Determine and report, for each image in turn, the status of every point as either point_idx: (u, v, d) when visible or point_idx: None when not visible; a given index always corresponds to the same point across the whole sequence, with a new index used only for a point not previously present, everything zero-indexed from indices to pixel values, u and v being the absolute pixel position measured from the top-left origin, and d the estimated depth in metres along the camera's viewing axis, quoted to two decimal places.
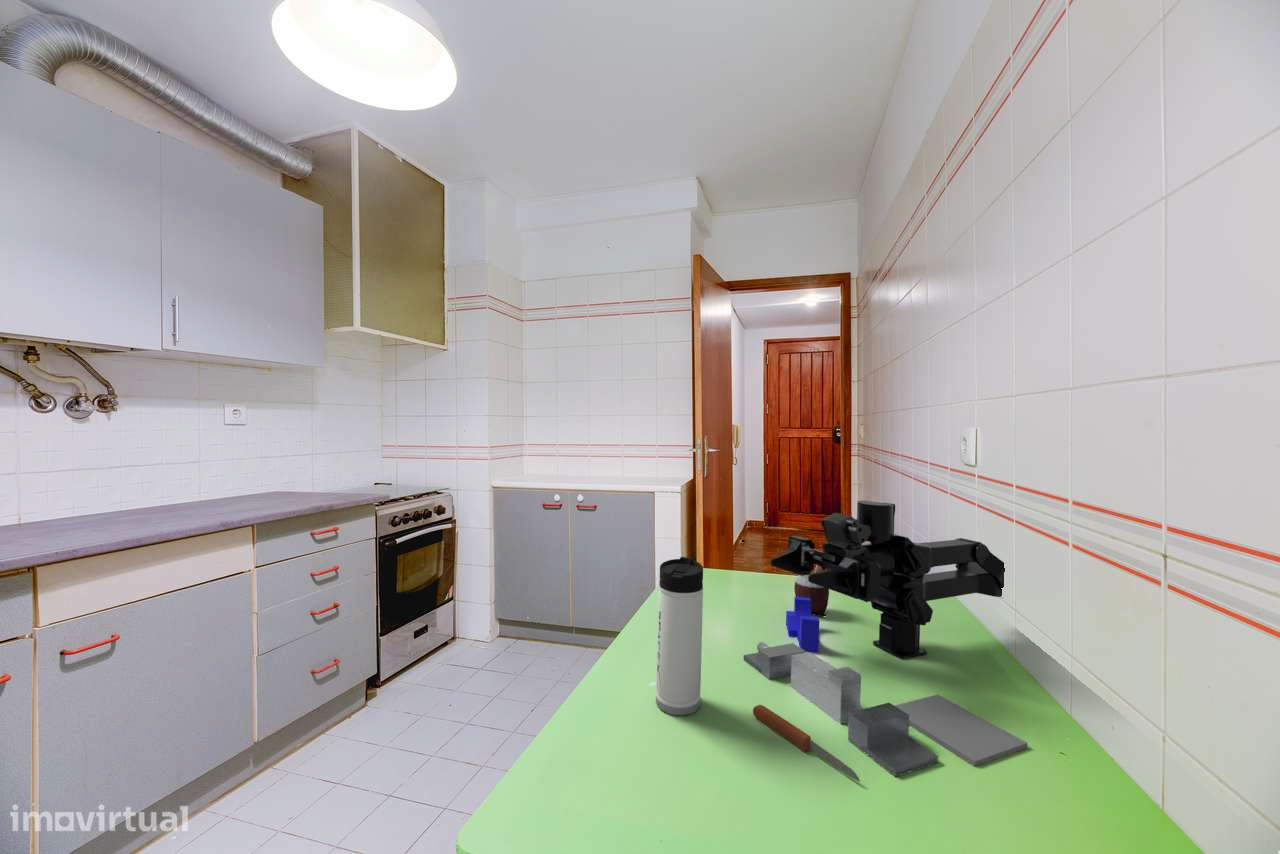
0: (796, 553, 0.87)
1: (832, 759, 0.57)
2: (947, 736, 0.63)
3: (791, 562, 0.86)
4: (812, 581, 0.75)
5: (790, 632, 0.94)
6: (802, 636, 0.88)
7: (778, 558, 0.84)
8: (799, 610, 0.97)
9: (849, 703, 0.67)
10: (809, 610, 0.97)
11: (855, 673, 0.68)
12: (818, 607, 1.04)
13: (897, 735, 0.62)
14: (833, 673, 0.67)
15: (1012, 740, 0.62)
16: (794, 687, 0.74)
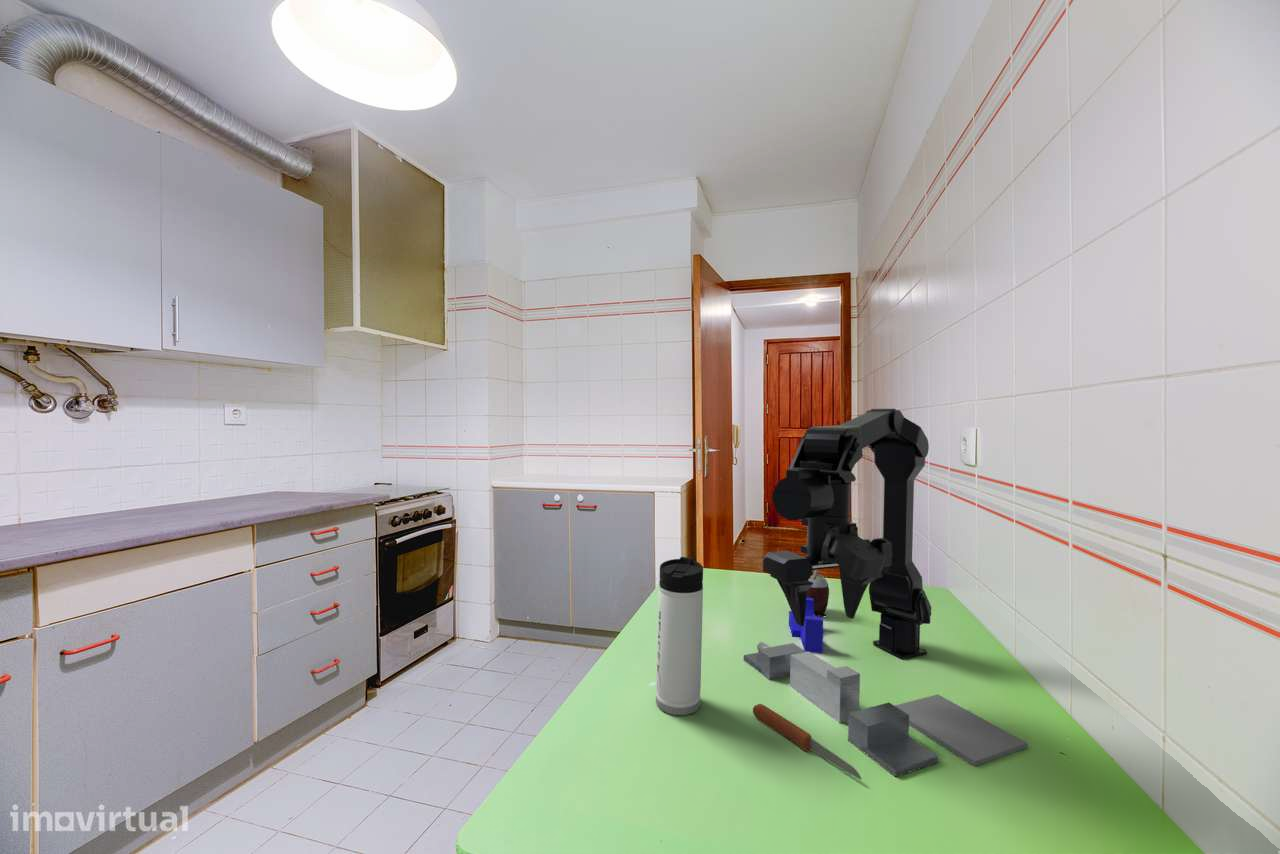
0: None
1: (833, 757, 0.57)
2: (947, 736, 0.63)
3: None
4: None
5: (793, 632, 0.94)
6: (806, 636, 0.88)
7: (804, 617, 0.69)
8: None
9: (848, 702, 0.67)
10: (812, 610, 0.97)
11: (854, 672, 0.68)
12: (818, 607, 1.04)
13: (897, 735, 0.62)
14: (832, 673, 0.68)
15: (1012, 740, 0.62)
16: (793, 686, 0.75)
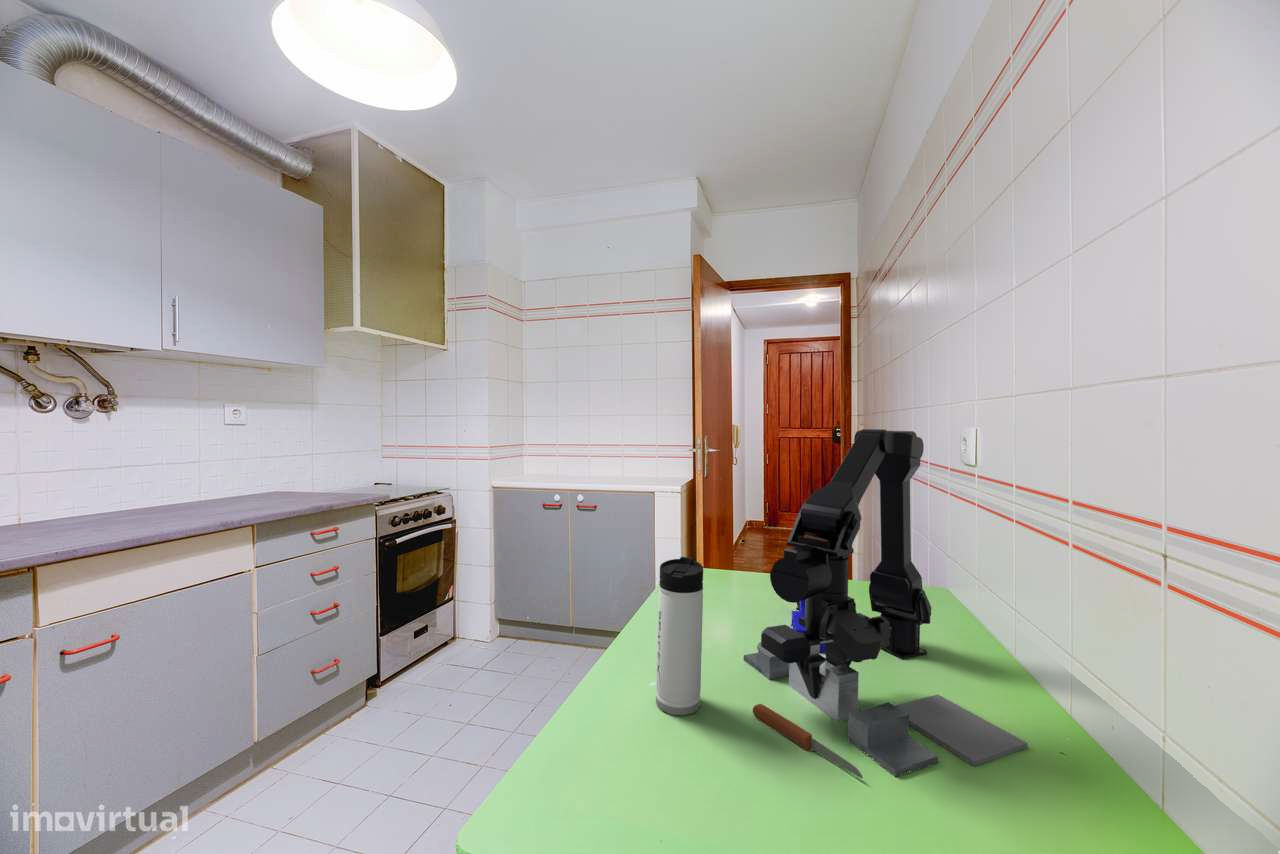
0: None
1: (834, 757, 0.58)
2: (947, 736, 0.63)
3: None
4: None
5: None
6: None
7: (817, 690, 0.70)
8: None
9: (846, 700, 0.67)
10: None
11: (852, 670, 0.68)
12: None
13: (897, 735, 0.62)
14: (831, 671, 0.68)
15: (1012, 740, 0.62)
16: (792, 685, 0.75)
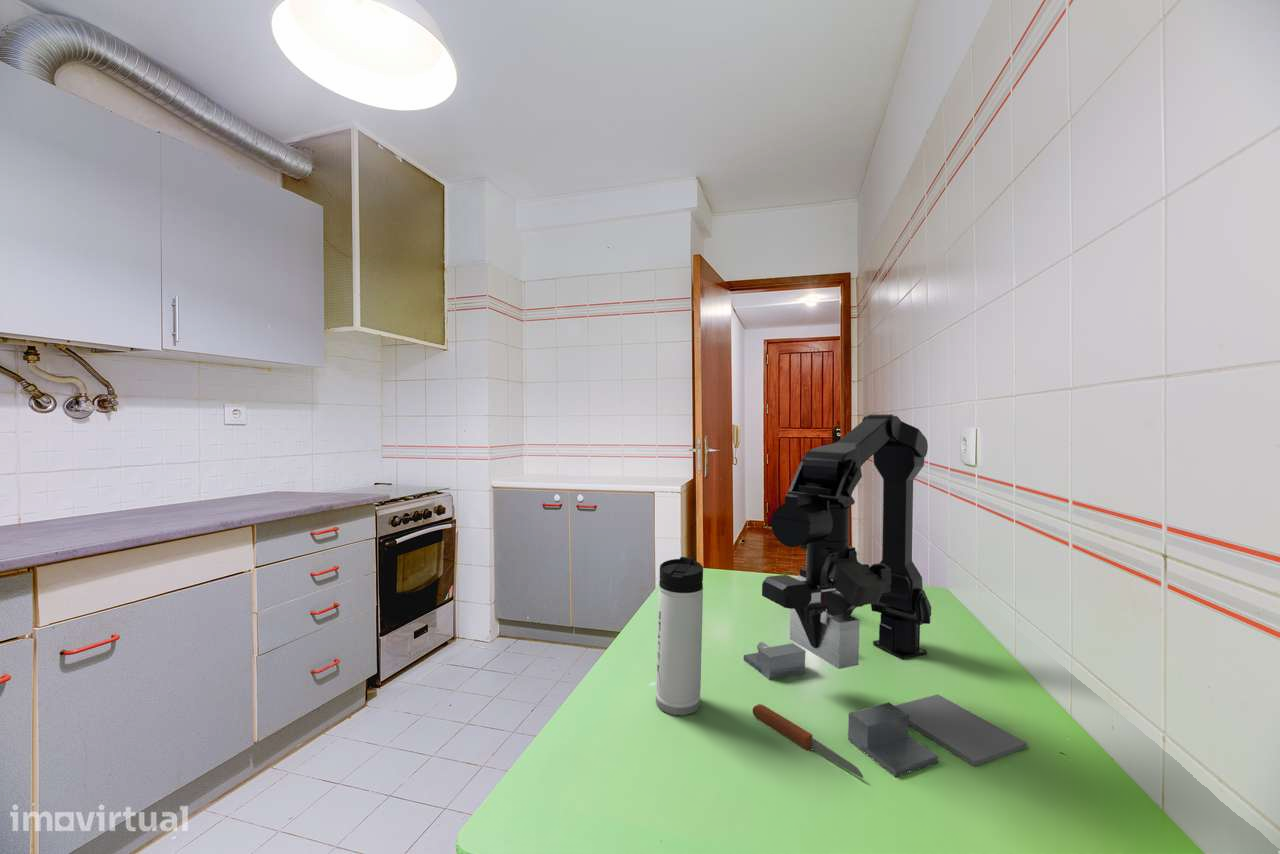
0: None
1: (834, 757, 0.58)
2: (947, 736, 0.63)
3: None
4: None
5: None
6: None
7: (818, 639, 0.70)
8: None
9: (847, 647, 0.67)
10: None
11: (854, 618, 0.68)
12: None
13: (897, 735, 0.62)
14: (832, 619, 0.68)
15: (1012, 740, 0.62)
16: (793, 637, 0.75)
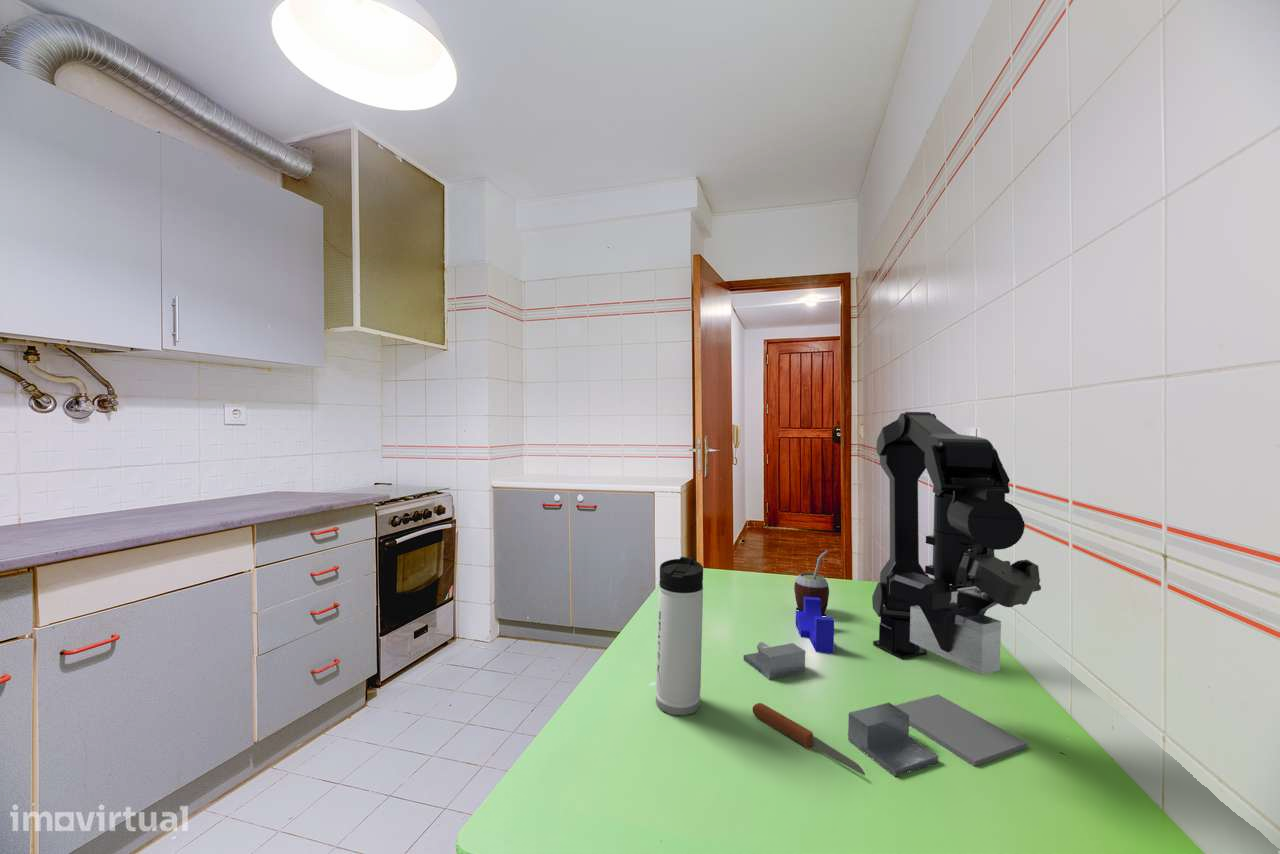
0: None
1: (836, 754, 0.58)
2: (947, 736, 0.63)
3: None
4: None
5: (802, 632, 0.94)
6: (817, 636, 0.87)
7: None
8: (809, 610, 0.97)
9: (990, 651, 0.61)
10: (819, 610, 0.97)
11: (994, 620, 0.62)
12: None
13: (897, 735, 0.62)
14: (971, 620, 0.62)
15: (1012, 740, 0.62)
16: (915, 640, 0.69)
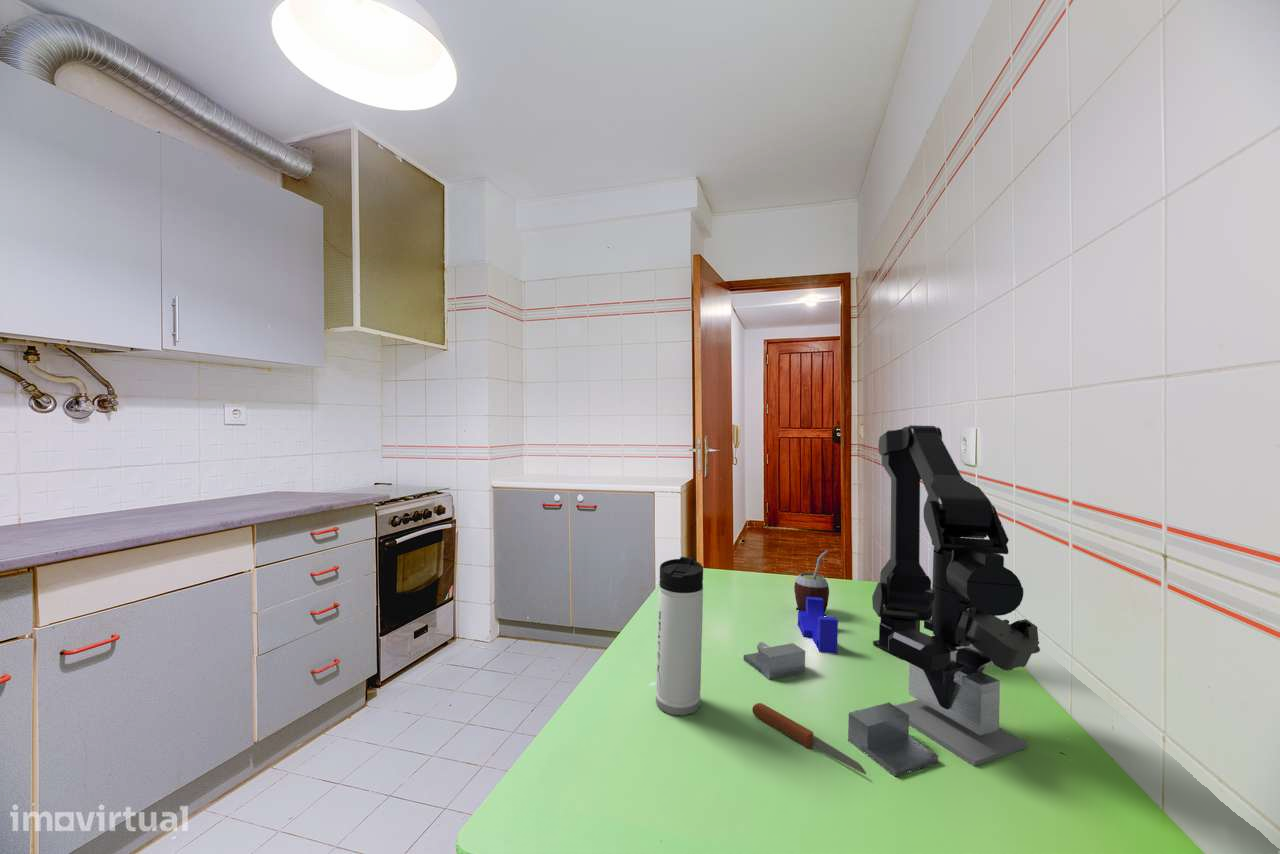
0: None
1: (836, 754, 0.58)
2: (947, 736, 0.63)
3: None
4: None
5: (805, 632, 0.94)
6: (821, 636, 0.87)
7: None
8: (812, 610, 0.97)
9: (989, 711, 0.61)
10: (822, 610, 0.97)
11: (993, 679, 0.62)
12: None
13: (897, 735, 0.62)
14: (970, 679, 0.62)
15: (1012, 740, 0.62)
16: (914, 693, 0.69)
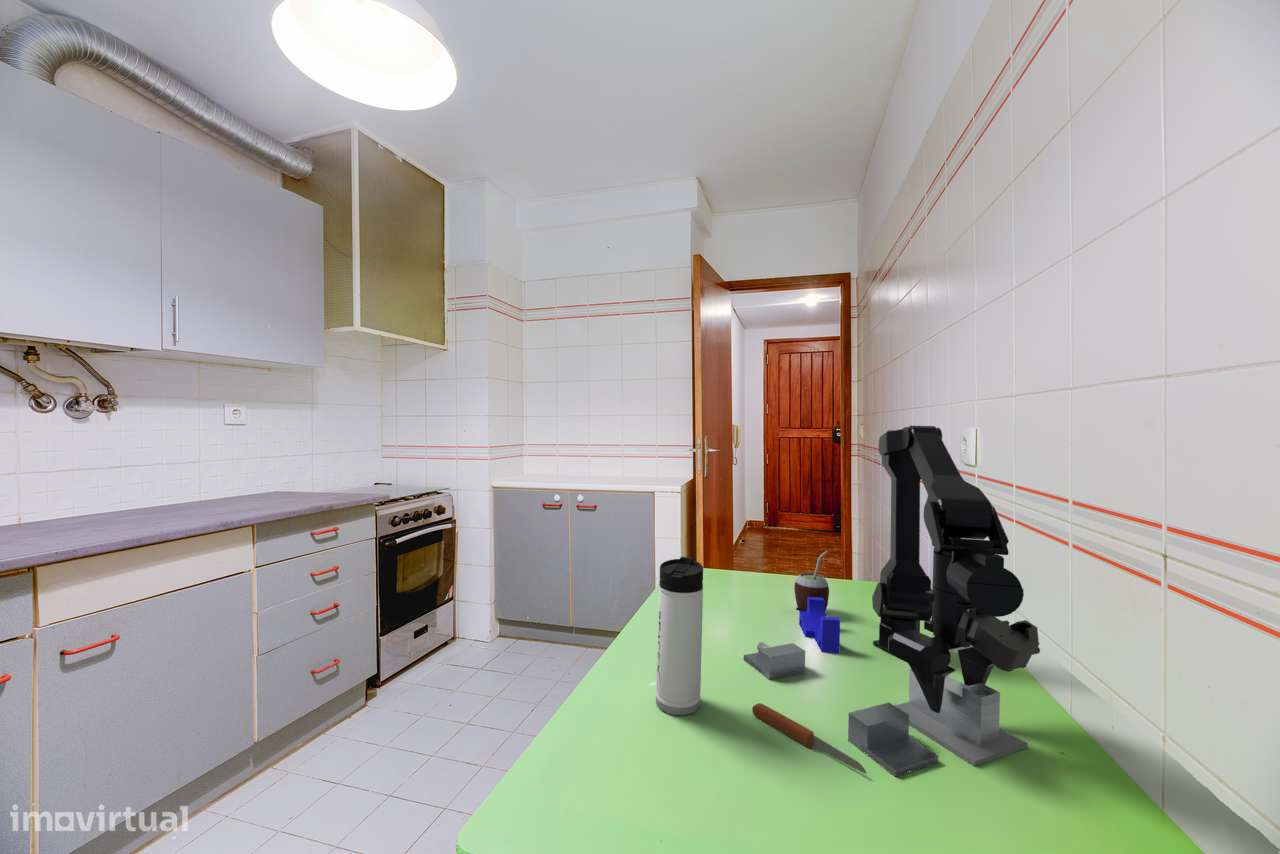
0: None
1: (837, 753, 0.58)
2: (947, 736, 0.63)
3: None
4: None
5: (807, 633, 0.94)
6: (823, 637, 0.87)
7: None
8: (813, 610, 0.97)
9: (988, 723, 0.61)
10: (823, 610, 0.97)
11: (993, 690, 0.62)
12: None
13: (897, 735, 0.62)
14: (970, 691, 0.62)
15: (1012, 740, 0.62)
16: (914, 704, 0.69)
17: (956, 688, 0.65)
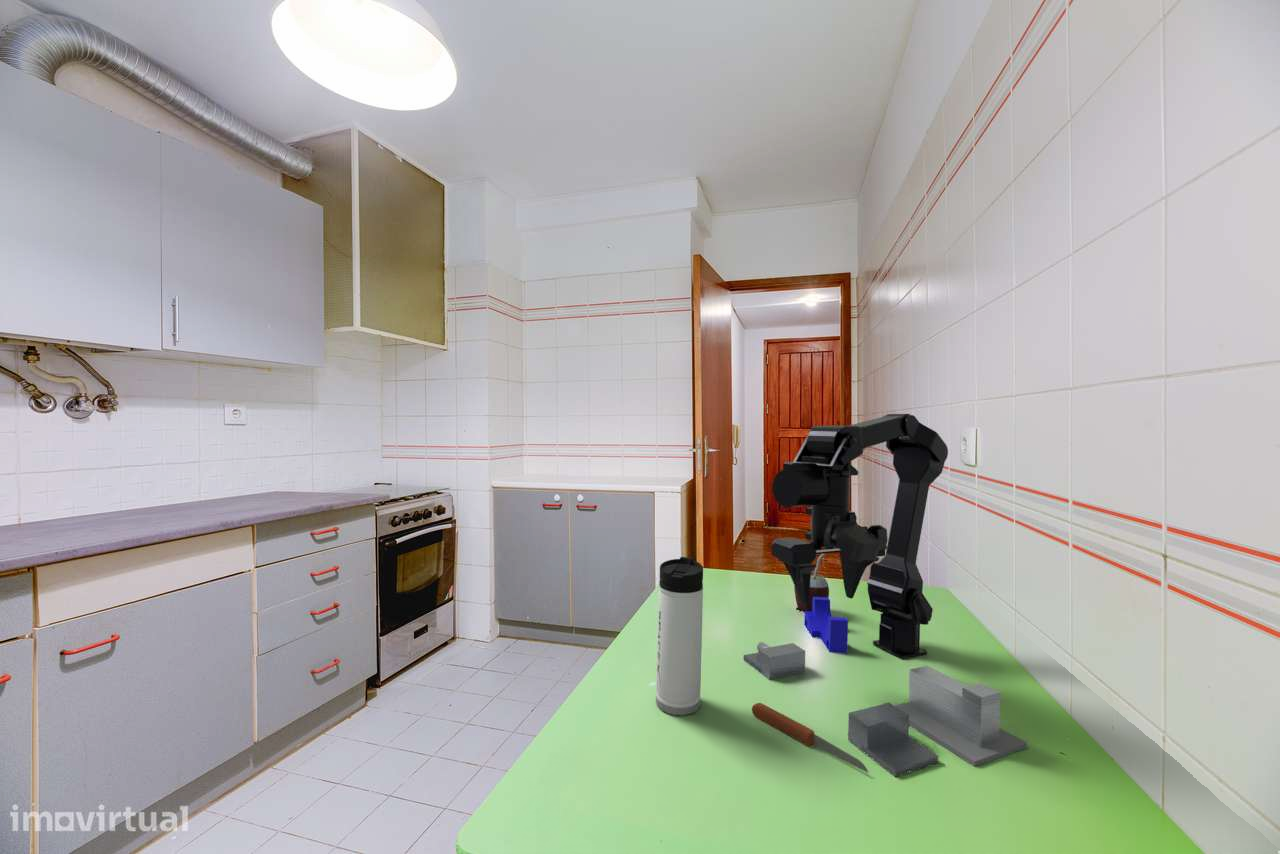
0: None
1: (838, 752, 0.59)
2: (947, 736, 0.63)
3: None
4: None
5: (813, 633, 0.94)
6: (831, 637, 0.88)
7: (808, 596, 0.77)
8: (819, 610, 0.97)
9: (988, 723, 0.61)
10: (828, 610, 0.97)
11: (993, 690, 0.62)
12: None
13: (897, 735, 0.62)
14: (970, 691, 0.62)
15: (1012, 740, 0.62)
16: (914, 704, 0.69)
17: (956, 688, 0.65)
